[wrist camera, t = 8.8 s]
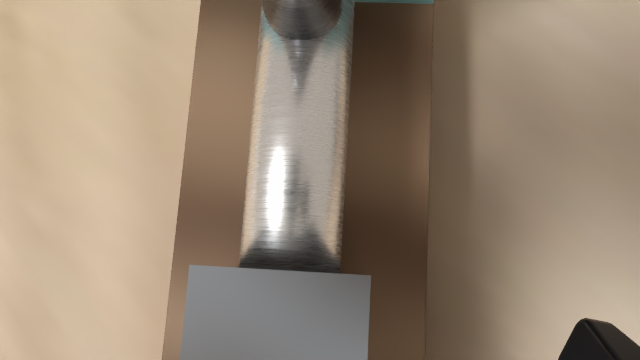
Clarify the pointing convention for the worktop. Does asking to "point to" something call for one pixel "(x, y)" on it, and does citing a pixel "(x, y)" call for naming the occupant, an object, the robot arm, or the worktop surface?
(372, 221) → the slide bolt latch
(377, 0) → the socket block
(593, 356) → the robot arm
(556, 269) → the worktop surface
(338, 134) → the slip tube
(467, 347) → the worktop surface
